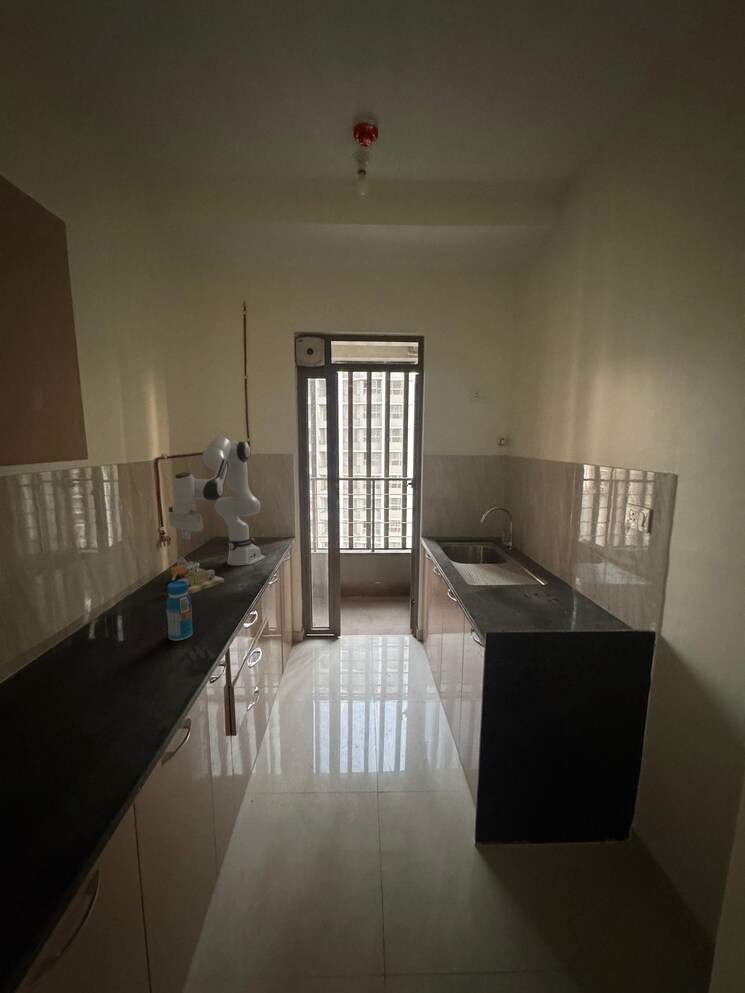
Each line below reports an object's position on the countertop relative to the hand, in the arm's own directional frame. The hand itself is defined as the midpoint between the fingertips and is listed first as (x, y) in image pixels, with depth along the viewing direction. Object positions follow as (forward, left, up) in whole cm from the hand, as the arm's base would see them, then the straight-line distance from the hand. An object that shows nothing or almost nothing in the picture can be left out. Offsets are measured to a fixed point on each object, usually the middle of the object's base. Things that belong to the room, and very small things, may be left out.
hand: (186, 538), depth 180 cm
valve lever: (-3, -6, -17) cm, 18 cm away
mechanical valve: (-7, -18, -27) cm, 33 cm away
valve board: (-8, -6, -27) cm, 28 cm away
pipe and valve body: (-8, -6, -25) cm, 27 cm away
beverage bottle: (+26, +33, -27) cm, 50 cm away
